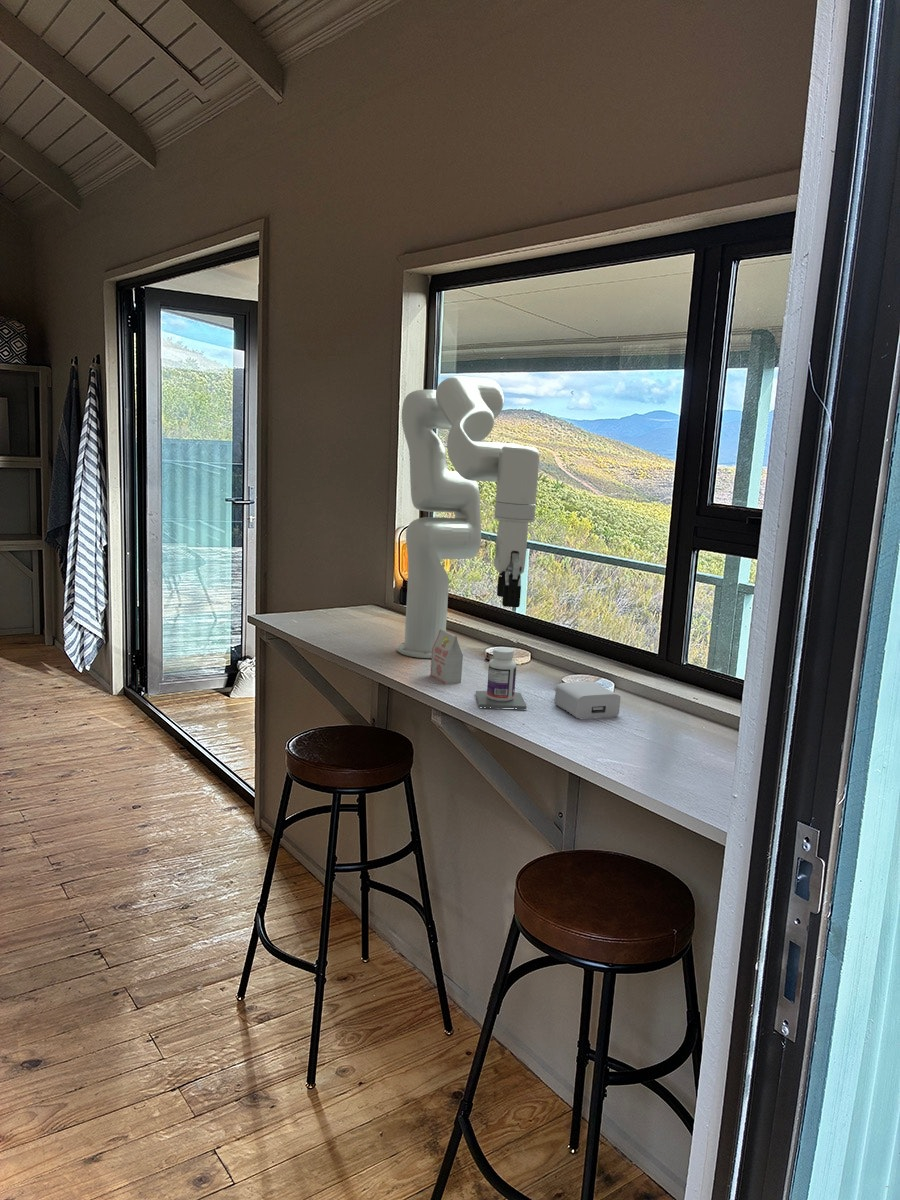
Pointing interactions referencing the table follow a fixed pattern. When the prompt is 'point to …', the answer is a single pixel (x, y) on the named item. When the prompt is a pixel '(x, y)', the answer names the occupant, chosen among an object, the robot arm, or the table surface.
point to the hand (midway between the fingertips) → (507, 601)
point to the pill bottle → (501, 675)
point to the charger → (587, 699)
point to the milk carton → (446, 659)
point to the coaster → (486, 702)
